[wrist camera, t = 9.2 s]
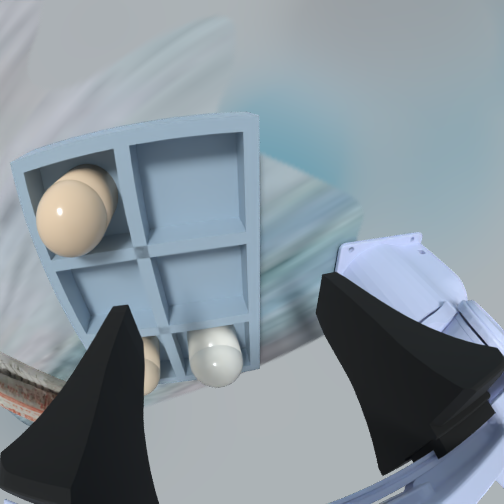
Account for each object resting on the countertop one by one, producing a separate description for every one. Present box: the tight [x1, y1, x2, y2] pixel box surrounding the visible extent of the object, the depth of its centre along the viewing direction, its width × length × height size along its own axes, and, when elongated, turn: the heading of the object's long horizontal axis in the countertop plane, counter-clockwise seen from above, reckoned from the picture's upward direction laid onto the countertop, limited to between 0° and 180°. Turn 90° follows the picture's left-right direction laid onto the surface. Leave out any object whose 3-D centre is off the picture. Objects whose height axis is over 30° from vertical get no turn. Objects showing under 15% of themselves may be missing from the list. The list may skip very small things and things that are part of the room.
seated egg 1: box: [142, 335, 160, 396], centre depth 19 cm, size 4×4×5 cm
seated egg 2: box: [187, 324, 243, 388], centre depth 20 cm, size 4×4×5 cm
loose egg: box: [36, 164, 118, 258], centre depth 12 cm, size 4×4×5 cm
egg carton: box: [10, 112, 260, 384], centre depth 18 cm, size 14×20×3 cm
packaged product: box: [0, 352, 66, 422], centre depth 21 cm, size 18×5×10 cm
